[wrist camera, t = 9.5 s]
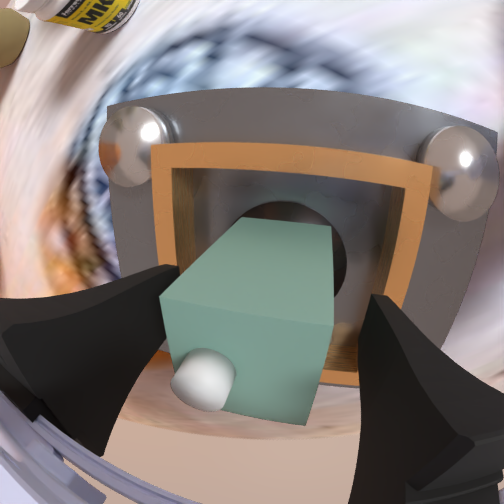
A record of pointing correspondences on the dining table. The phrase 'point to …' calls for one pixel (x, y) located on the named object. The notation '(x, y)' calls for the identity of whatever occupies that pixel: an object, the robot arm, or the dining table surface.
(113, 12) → the supplement bottle
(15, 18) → the squeeze bottle
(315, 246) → the spout tin
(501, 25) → the dining table surface
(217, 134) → the grey framed base plate
